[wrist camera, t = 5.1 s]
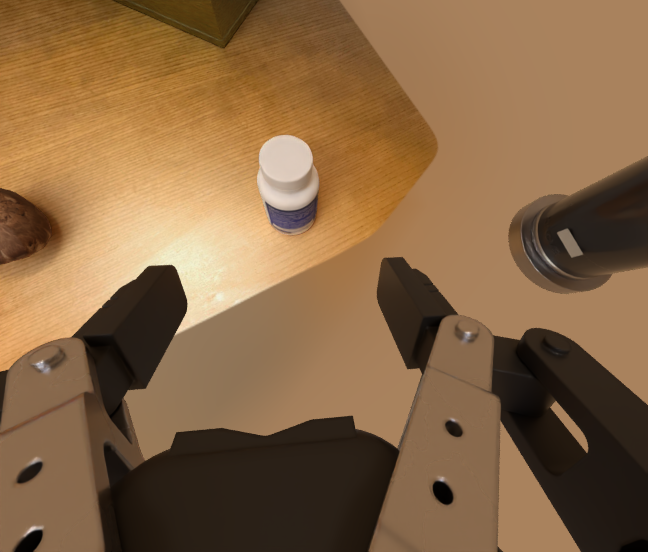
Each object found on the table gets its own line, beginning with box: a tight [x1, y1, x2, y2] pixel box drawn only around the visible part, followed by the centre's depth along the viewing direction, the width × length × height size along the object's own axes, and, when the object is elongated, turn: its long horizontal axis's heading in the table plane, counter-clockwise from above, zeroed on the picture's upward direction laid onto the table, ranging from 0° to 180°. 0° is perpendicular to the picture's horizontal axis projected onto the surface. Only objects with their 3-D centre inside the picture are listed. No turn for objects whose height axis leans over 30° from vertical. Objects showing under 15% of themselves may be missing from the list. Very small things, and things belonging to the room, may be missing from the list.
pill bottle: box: [257, 135, 319, 235], centre depth 23 cm, size 5×5×9 cm
